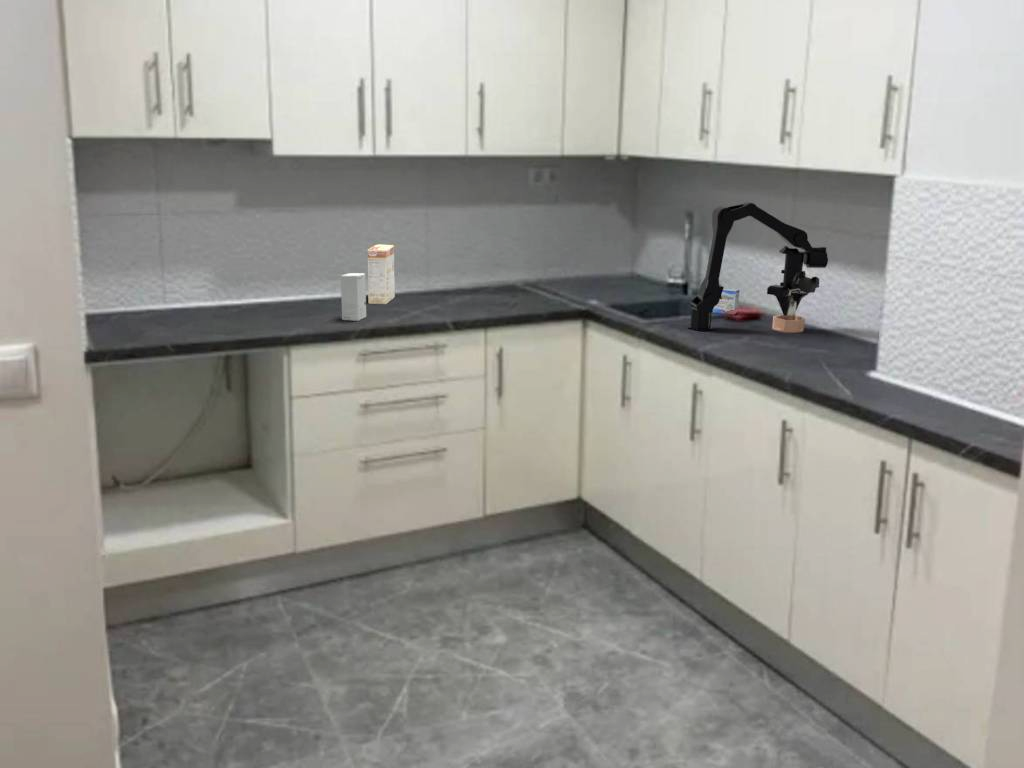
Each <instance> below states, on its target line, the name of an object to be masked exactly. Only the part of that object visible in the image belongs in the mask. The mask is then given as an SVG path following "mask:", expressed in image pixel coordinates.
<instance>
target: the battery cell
mask: <svg viewBox="0 0 1024 768" xmlns="http://www.w3.org/2000/svg"><path fill="white" fill-rule="evenodd" d="M796 304H797V301H794V300H793V298H792V299H791V300H790V302H789V308H788V313H787V316H785V315H783V314H782V315H783V319H784V320H795V316H797V315H796V312H797V310H796Z"/></svg>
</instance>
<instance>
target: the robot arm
mask: <svg viewBox="0 0 1024 768" xmlns="http://www.w3.org/2000/svg"><path fill="white" fill-rule="evenodd" d="M747 217H749V218H752V219H753V220H754V221H757V222H758V223H760V224H762V225H763V226H765V227H767V229H770V230H771V231H773V232H775V233H776V234H777V235H778V236H779V238H780V239H782V241H784V242H785V243H786V244H787V245H789V246H792V247H795V248H792V247H791V248H790V247H789V246H787V245H784V247H782V248H781V249H780V250H779V251H778V252H779V253H780V254H783V255H785V257H784V258H785V259H784V268H783V269H781V270H780V271H781V272H780V273H781V274H783V279H782V282H780V283H779V284H780V285H779V284H771V285H769V286H767V289H766V294H767V295H770V296H774V297H775V298H776V300H777V302H778V304H779V308H780V310H781V312H782V315H785V316H787V313H788V308H789V302H790V300H791V299H792V298H793V300H794V301H797V304H796V311H797V309H798V308H799V305H800V304H801V301H802V299H803V298H804V297H806V296H808V295H809V294H810V293H815V292H816V289H817V288H819V287H820V278H819V277H818V276H812V277H808V276H807V275H806V274H807V273H806V271H804V270H803V267H804V266H805V267H806V268H807V269H812V268H813V269H817V268H818V269H825V268H827V266H828V262H829V257H828V252H827V247H826V246H816V247H815V246H812V245H811V243H810V241H809V237H808V233H807V231H805V230H804V229H802V228H798V227H795V226H792V225H790V224H788V223H785V222H784V221H782V220H780V219H778V218H776V217H775V216H773V215H771V214H770V213H768V212H766V211H765V210H763V209H762V208H760V207H759V206H757V205H756V204H755V203H753V202H750V201H748V202H747V201H746V202H745V203H741V204H736V205H731V206H723V205H721V206H717V207H716V208H714V210H713V211H712V213H711V218H712V219H711V225H712V233H713V234H712V239H711V244H710V251H709V255H708V261H707V266H706V271H705V272H706V273H705V277H704V279H703V281H702V282H701V283H700V286H699V288H698V292H697V295H696V296H695V297H693V299H691V301H690V302H689V304H690V307H691V313H690V314H691V316H690V325H688V326H686V329H689V328H691V329H690V330H694V329H696V330H695V331H698V330H700V331H699V332H704V331H709V330H710V331H712V330H714V329H715V328H714V327H712V326H711V325H712V313H713V309H714V306H716V305H717V304H718V303H719V300H720V299H722V297H721V296H722V292H723V289H725V288H724V286H723V285H721V284H720V276H721V270H722V264H723V258H724V254H725V248H726V243H727V238H728V236H729V234H730V232H731V230H732V228H733V227H734V226H733V225H734V223H735V222H736V221H739V220H742V219H744V218H747ZM801 250H803V251H801Z"/></svg>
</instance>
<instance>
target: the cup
mask: <svg viewBox="0 0 1024 768" xmlns="http://www.w3.org/2000/svg"><path fill="white" fill-rule="evenodd" d="M805 322H806V319H805V317H803V316H797V315H795V320H784V319H783V314H778V315H777V314H776V315H773V316H772V328H771V329H772V330H774V331H776V332H780V333H787V334H788V333H789V334H791V333H792V334H794V333H795V334H798V333H799V334H800V333H803V332H804V329H805Z"/></svg>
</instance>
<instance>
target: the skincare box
mask: <svg viewBox="0 0 1024 768" xmlns="http://www.w3.org/2000/svg"><path fill="white" fill-rule="evenodd" d="M366 291H367V290H366V273H362V272H361V273H360V272H358V273H357V272H355V273H353V272H349V273H345V274H342V275H341V276H340V292H341V293H340V294H341V295H340V296H341V298H340V299H341V320H343V321H353V322H354V321H355V322H358V321H359V322H360V320H362V319H365V318H367V295H366V294H367V293H366Z"/></svg>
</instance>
